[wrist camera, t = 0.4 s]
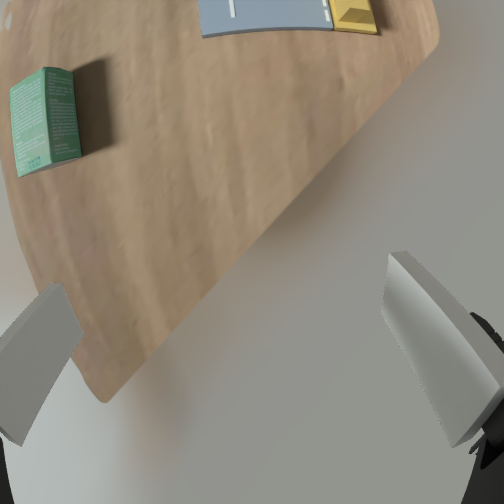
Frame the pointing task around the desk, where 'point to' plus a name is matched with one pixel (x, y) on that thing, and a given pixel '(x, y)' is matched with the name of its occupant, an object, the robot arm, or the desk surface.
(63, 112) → the box
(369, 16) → the yellow stepped block
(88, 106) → the desk surface
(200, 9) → the ticket
